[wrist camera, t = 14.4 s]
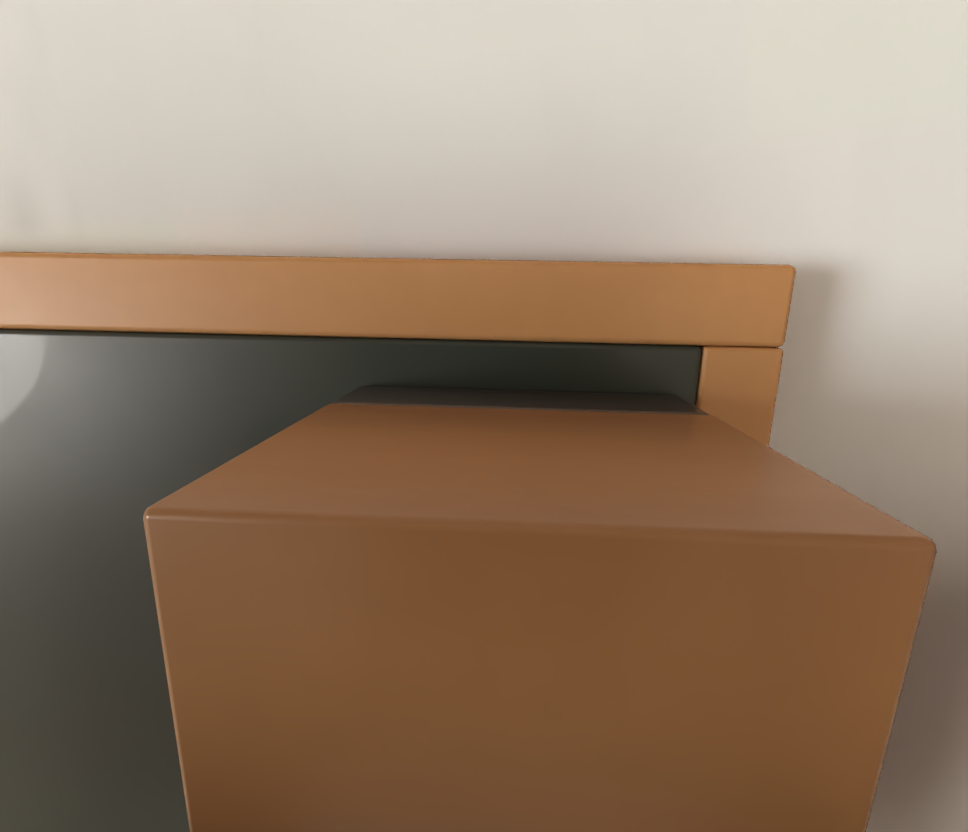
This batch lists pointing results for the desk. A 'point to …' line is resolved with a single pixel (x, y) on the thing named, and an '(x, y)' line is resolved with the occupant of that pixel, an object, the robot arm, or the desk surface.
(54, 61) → the desk surface
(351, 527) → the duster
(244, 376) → the chalkboard
